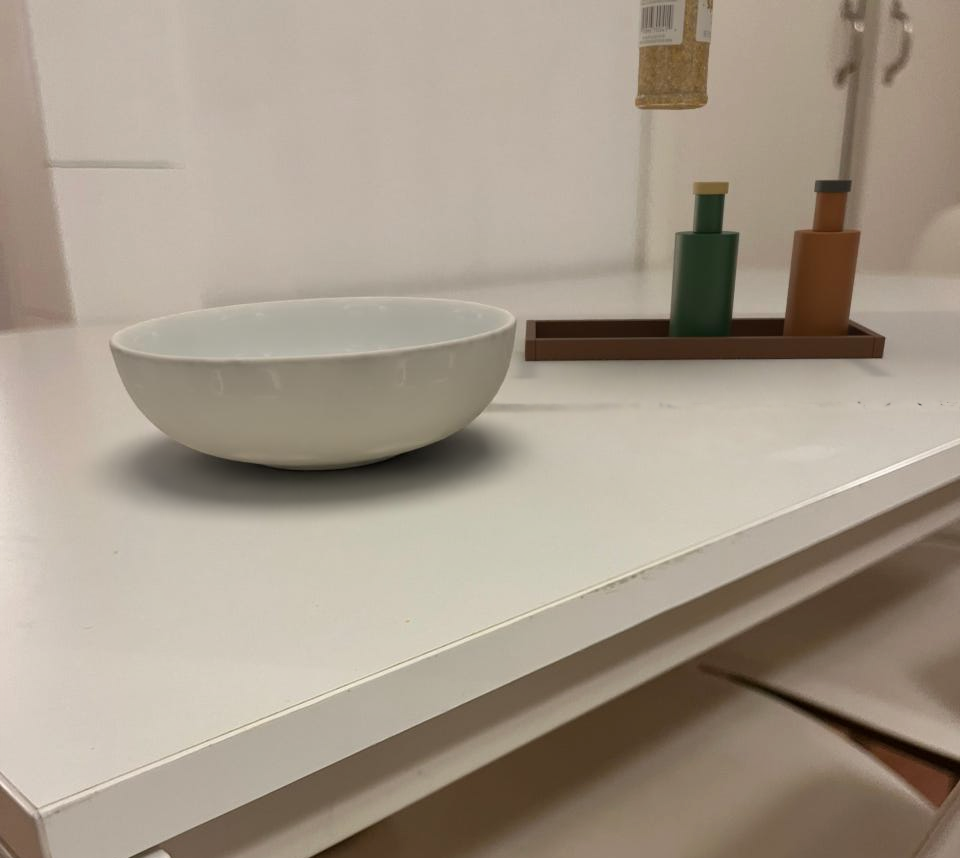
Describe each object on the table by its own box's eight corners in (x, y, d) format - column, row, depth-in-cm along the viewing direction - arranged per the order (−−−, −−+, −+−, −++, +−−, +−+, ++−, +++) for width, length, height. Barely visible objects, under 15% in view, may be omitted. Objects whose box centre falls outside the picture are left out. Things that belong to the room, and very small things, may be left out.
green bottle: (724, 342, 82) (737, 181, 77) (734, 352, 78) (749, 182, 73) (664, 342, 83) (674, 182, 78) (672, 352, 78) (682, 183, 73)
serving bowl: (230, 403, 67) (217, 294, 64) (542, 412, 63) (543, 296, 60) (48, 496, 49) (17, 349, 46) (472, 517, 45) (469, 358, 42)
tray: (842, 342, 85) (846, 316, 84) (881, 366, 75) (886, 336, 74) (526, 345, 86) (526, 319, 85) (524, 368, 77) (525, 339, 76)
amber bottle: (835, 341, 82) (857, 179, 77) (852, 351, 78) (876, 180, 72) (776, 341, 82) (793, 180, 77) (789, 351, 78) (808, 181, 73)
